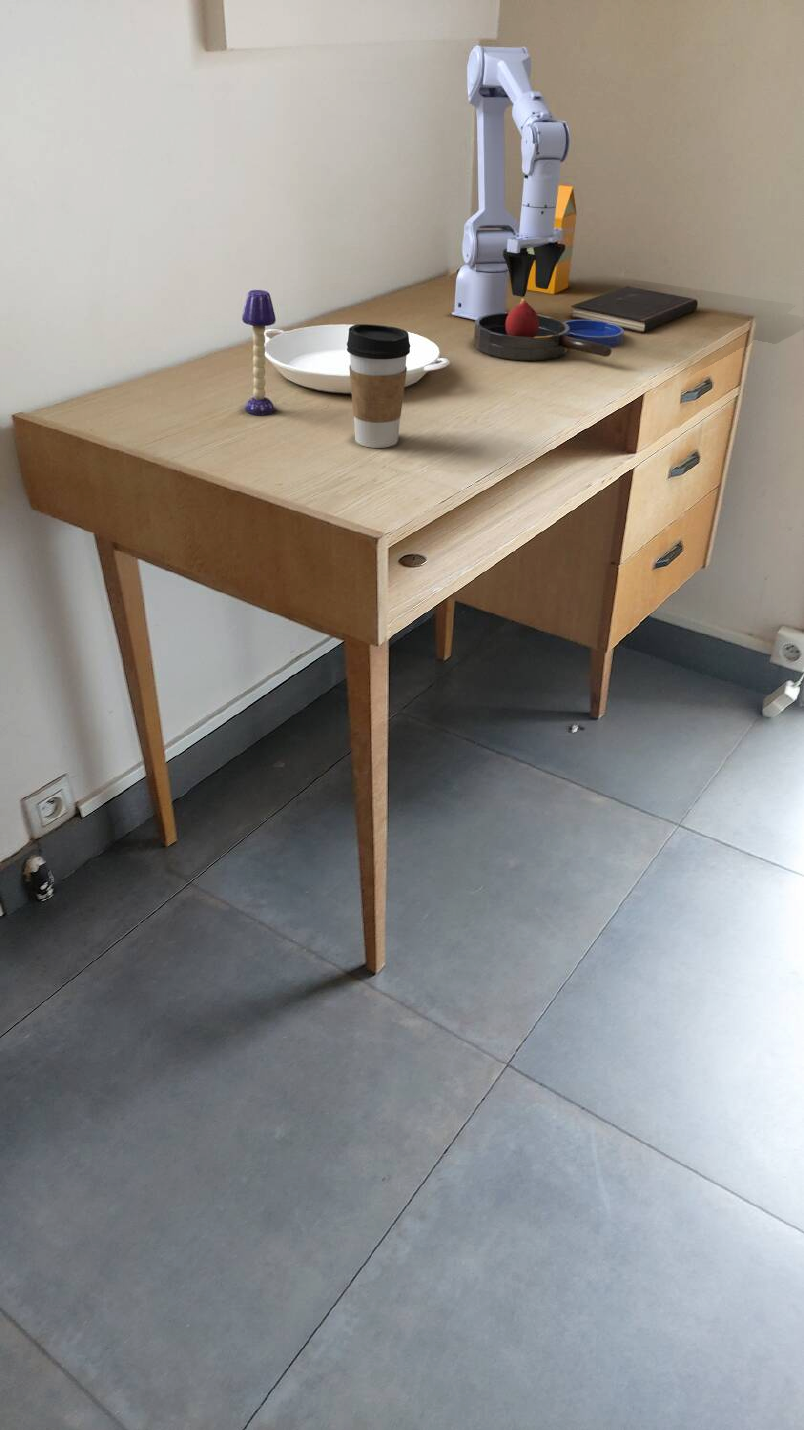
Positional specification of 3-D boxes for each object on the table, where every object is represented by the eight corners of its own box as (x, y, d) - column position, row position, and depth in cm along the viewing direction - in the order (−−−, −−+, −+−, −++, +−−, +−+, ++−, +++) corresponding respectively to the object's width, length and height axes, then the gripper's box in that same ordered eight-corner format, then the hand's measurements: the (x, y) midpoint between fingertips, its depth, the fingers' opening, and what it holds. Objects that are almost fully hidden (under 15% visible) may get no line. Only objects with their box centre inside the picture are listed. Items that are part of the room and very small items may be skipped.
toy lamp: (271, 403, 157) (267, 286, 147) (283, 413, 153) (279, 294, 144) (241, 407, 155) (234, 289, 145) (252, 417, 151) (246, 297, 142)
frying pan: (455, 348, 184) (456, 324, 182) (506, 330, 195) (508, 307, 193) (534, 367, 176) (537, 343, 174) (583, 347, 187) (586, 324, 185)
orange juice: (553, 294, 219) (565, 188, 207) (515, 287, 222) (525, 183, 211) (568, 287, 224) (580, 184, 213) (531, 281, 228) (541, 179, 216)
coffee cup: (344, 429, 149) (345, 320, 140) (404, 430, 149) (408, 321, 141) (347, 451, 142) (348, 338, 133) (409, 451, 143) (414, 339, 134)
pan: (216, 379, 165) (214, 351, 163) (305, 337, 186) (305, 311, 184) (408, 417, 154) (409, 387, 151) (480, 367, 175) (482, 340, 173)
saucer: (545, 338, 191) (546, 328, 190) (578, 326, 199) (579, 316, 198) (602, 351, 185) (603, 341, 184) (633, 338, 193) (635, 328, 192)
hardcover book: (570, 317, 204) (571, 305, 202) (625, 297, 219) (627, 285, 217) (644, 333, 196) (646, 321, 194) (696, 311, 211) (698, 299, 210)
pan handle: (554, 346, 180) (555, 335, 179) (559, 344, 181) (560, 333, 180) (607, 359, 175) (609, 348, 174) (612, 356, 176) (614, 345, 175)
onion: (536, 342, 187) (541, 296, 183) (536, 352, 183) (541, 304, 178) (503, 340, 188) (508, 294, 183) (503, 349, 183) (507, 302, 179)
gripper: (536, 214, 166) (527, 303, 173) (582, 203, 175) (571, 288, 183) (499, 207, 169) (492, 296, 177) (545, 198, 179) (537, 282, 186)
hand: (530, 292), depth 180 cm, fingers open, 7 cm apart
